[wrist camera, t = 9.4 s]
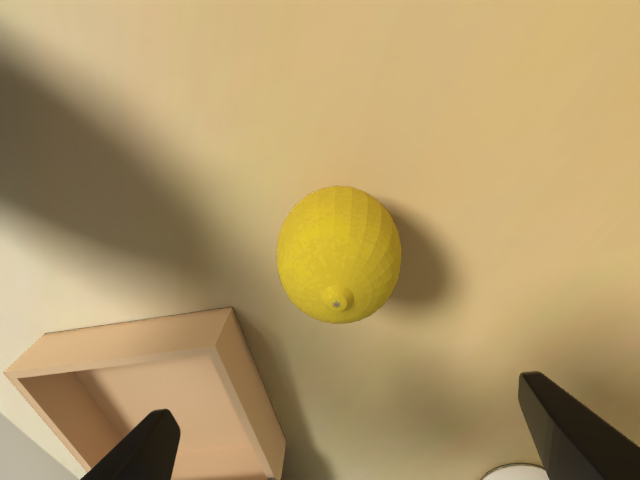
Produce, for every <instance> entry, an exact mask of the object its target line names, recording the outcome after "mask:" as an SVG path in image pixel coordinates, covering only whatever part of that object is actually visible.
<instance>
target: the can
mask: <svg viewBox="0 0 640 480" xmlns="http://www.w3.org/2000/svg"><path fill="white" fill-rule="evenodd" d="M481 480H549V478H548V476H547V473H546V471H545V469H543V468H541V467H539V466H536V465H532V464H523V463H518V464H509V465H504V466H500V467H498V468H495V469H493V470H491V471H489V472H488V473H487V474H485V475H484V476H483V477H482V479H481Z"/></svg>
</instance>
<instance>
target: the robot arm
mask: <svg viewBox="0 0 640 480" xmlns="http://www.w3.org/2000/svg"><path fill="white" fill-rule="evenodd" d="M518 399H519V404H520V407H521V410H522V412H523V415H524V417H525V420H526V422H527V425H528V428H529V430H530V433H531V435H532V438H533V440H534V443H535V446H536V448H537V451H538V453H539V456H540V458H541V461H542V464H543V466H544V468H545V471H546V473H547V476H548V478H549V480H640V447H639V446H637V445H636V444H635V443H633V442H632V441H631V440H630V439H628V438H627V437H626V436H624V435H623V434H622V433H620V432H619V431H618V430H616V429H615V428H614V427H612V426H611V425H610V424H608V423H607V422H606V421H604V420H603V419H602V418H600V417H599V416H598V415H597V414H595V413H594V412H593V411H591V410H590V409H589V408H587V407H586V406H585V405H583V404H582V403H581V402H579V401H578V400H577V399H575V398H574V397H573V396H571V395H570V394H569V393H567V392H566V391H565V390H564V389H562V388H561V387H560V386H558V385H557V384H556V383H554V382H553V381H552V380H550V379H549V378H548V377H546V376H545V375H544V374H542V373H541V372H538V371H533V372H523V373H521V374H520V376H519V390H518ZM180 436H181V430H180V427H179V425H178V423H177V421H176V420H175V418H174V416H173V415H172V413H171V411H170V410H168V409H158V410H153V411H152V412H150V413H149V414H148V415H147V416H146V417H145V418H144V419H143V420H142V421H141V422H140V423H139V424H138V425H137V426H136V427H135V428H133V429H132V430H131V431H130V432H129V433H128V434H127V435H126V436H125V437H124V438H123V439H122V440H121V441H120V442H119V443H118V444H117V445H116V446H115V447H114V448H113V449H112V450H111V451H110V452H109V453H107V454H106V455H105V456H104V457H103V458H102V459H101V460H100V461H99V462H98V463H97V464H96V465H95V466H94V467H93V468H92V469H91V470H90V471H89V472H88V473H87V474H86V475H85V476H84V477H82V478H81V479H80V480H171V477H172V472H173V468H174V463H175V459H176V455H177V450H178V446H179V441H180Z"/></svg>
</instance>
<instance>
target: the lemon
mask: <svg viewBox="0 0 640 480" xmlns="http://www.w3.org/2000/svg"><path fill="white" fill-rule="evenodd" d="M401 256H402V249H401V244H400V239H399V233H398V230H397V227H396V225H395V223H394V221H393V219H392V217H391V215H390V214H389V212H388V211H387V210H386V209H385V208H384V207H383V206H382V204H381V203H380V202H379V201H378V200H377V199H375V198H374V197H372V196H370V195H369V194H367V193H365V192H364V191H361V190H358V189H355V188H352V187H344V186H333V187H328V188H322V189H320V190H318V191H316V192H313V193H311V194H309V195H307V196H306V197H305V198H304V199H302V200H301V201H300V202H299V203H297V204H296V205H295V207H294V208H293V209H292V211H291V212H290V213H289V215H288V216H287V218H286V219H285V221H284V224H283V226H282V229H281V232H280V235H279V238H278V245H277V267H278V271H279V276H280V280H281V284H282V286H283V288H284V290H285V291H286V293H287V295H288V297H289V299H290V300H291V301H292V302H293V303H294V304H295V305H296V306H297V307H298V308H299V309H300V310H301V311H302V312H304V313H305V314H307V315H308V316H310V317H312V318H315V319H317V320H320V321H322V322H328V323H333V324H344V323H351V322H355V321H359V320H361V319H364V318H366V317H368V316H370V315H372V314H373V313H374V312H375V311H377V310H378V309H379V308H381V307H382V306H383V305H384V303H385V302H386V301H387V299H388V298H389V297H390V296H391V294H392V292H393V290H394V287H395V285H396V283H397V280H398V277H399V273H400V266H401Z"/></svg>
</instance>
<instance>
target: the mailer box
mask: <svg viewBox="0 0 640 480" xmlns="http://www.w3.org/2000/svg"><path fill="white" fill-rule="evenodd" d="M3 373H4V374H5V376H6V377H7V378H8V379H9V380H10V382H11V383H12V384H13V385H14V386H15V387H16V389H17V390H18V391H19V392H20V393H21V395H22V396H23V397H24V398H25V399H26V401H27V402H28V403H29V404H30V405H31V406H32V408H33V409H34V410H35V411H36V412H37V414H38V415H39V416H40V417H41V418H42V419H43V421H44V422H45V423H46V424H47V425H48V427H49V428H50V429H51V430H52V431H53V432H54V434H55V435H56V436H57V437H58V438H59V440H60V441H61V442H62V443H63V444H64V445H65V447H66V448H67V449H68V450H69V451H70V453H71V454H72V455H73V456H74V457H75V459H76V460H77V461H78V462H79V463H80V464H81V466H82V467H83V468H84V469H85V470H86V472H87V473H88V472H89V471H90V470H91V469H92V468H93V467H94V466H95V465H96V464H97V463H98V462H99V461H100V460H101V459H102V458H103V457H104V456H105V455H106V454H107V453H109V452H110V451H111V450H112V449H113V448H114V447H115V446H116V445H117V444H118V443H119V442H120V441H121V440H122V439H123V438H124V437H125V436H126V435H127V434H128V433H129V432H130V431H131V430H132V429H133V428H135V427H136V426H137V425H138V424H139V423H140V422H141V421H142V420H143V419H144V418H145V417H146V416H147V415H148V414H149V413H150V412H152V411H153V410H158V409H168V410H170V411H171V413H172V415H173V416H174V418H175V420H176V421H177V423H178V425H179V427H180V430H181V436H180V441H179V446H178V450H177V455H176V459H175V463H174V468H173V472H172V477H171V480H275V479H277V480H281V475H282V468H283V461H284V454H285V447H286V440H285V438H284V435H283V433H282V430H281V428H280V425H279V423H278V420H277V418H276V415H275V413H274V410H273V408H272V405H271V403H270V400H269V398H268V395H267V393H266V390H265V388H264V385H263V383H262V380H261V378H260V375H259V373H258V370H257V368H256V365H255V363H254V360H253V358H252V355H251V353H250V350H249V348H248V345H247V343H246V340H245V338H244V335H243V333H242V330H241V328H240V325H239V323H238V320H237V318H236V315H235V313H234V310H233V308H232V307H227V308H220V309H213V310H206V311H199V312H192V313H185V314H178V315H171V316H164V317H157V318H150V319H143V320H136V321H129V322H122V323H115V324H108V325H101V326H94V327H87V328H80V329H73V330H66V331H59V332H52V333H45V334H44V335H43V336H42V337H41V338H40V339H39V340H38V341H37V342H35V343H34V344H33V345H32V346H31V347H30V348H29V349H28V350H27V351H26V352H25V353H24V354H23V355H21V356H20V357H19V358H18V359H17V360H16V361H15V362H14V363H13V364H12V365H11V366H10V367H9V368H8V369H6V370H5V371H4V372H3Z"/></svg>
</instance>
